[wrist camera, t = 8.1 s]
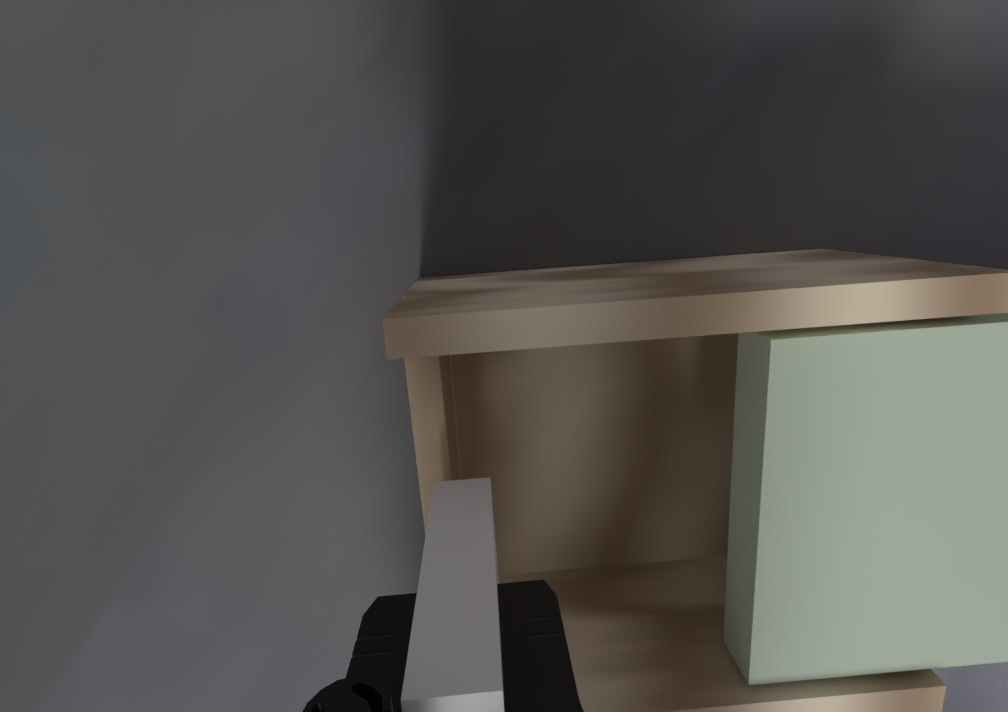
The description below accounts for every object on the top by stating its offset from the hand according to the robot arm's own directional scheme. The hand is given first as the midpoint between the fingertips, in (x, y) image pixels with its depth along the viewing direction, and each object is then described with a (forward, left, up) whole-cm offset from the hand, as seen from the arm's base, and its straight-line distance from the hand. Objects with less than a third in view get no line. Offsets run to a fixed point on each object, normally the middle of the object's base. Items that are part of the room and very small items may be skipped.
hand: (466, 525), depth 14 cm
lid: (+14, 0, -1) cm, 14 cm away
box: (+6, 0, -6) cm, 8 cm away
